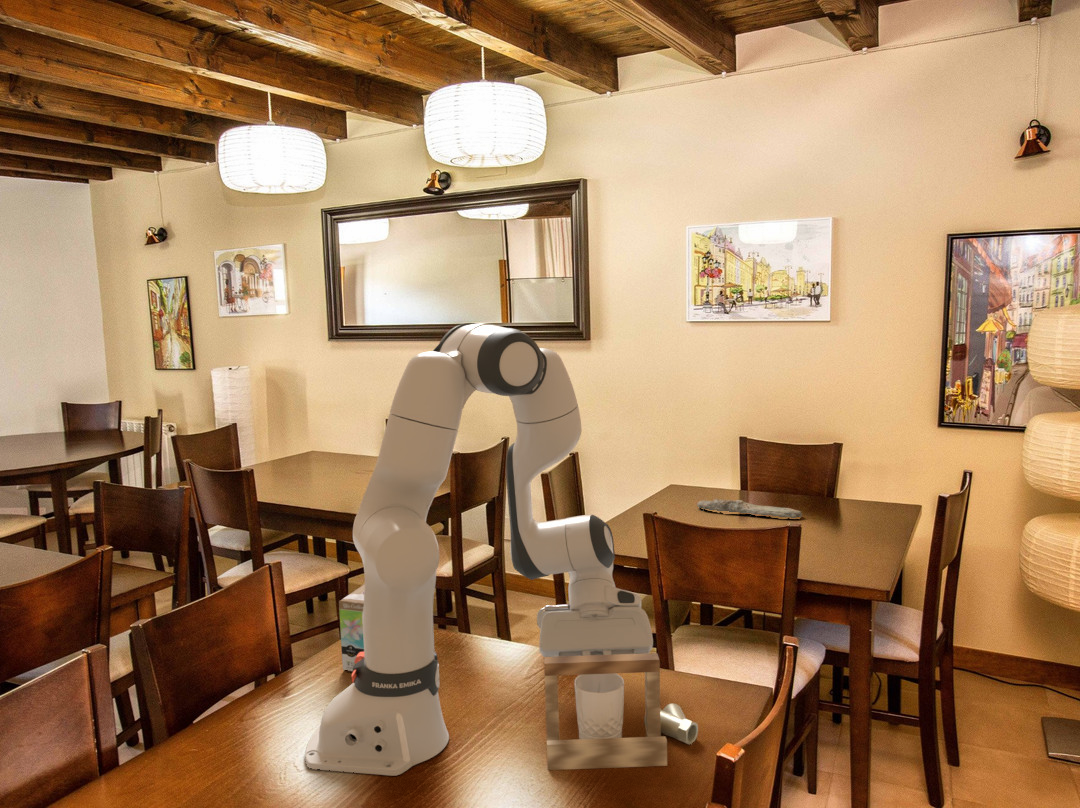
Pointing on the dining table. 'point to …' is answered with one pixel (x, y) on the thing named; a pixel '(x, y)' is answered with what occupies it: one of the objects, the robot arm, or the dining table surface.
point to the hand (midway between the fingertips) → (598, 678)
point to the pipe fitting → (677, 724)
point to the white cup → (599, 705)
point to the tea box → (351, 627)
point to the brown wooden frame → (607, 749)
